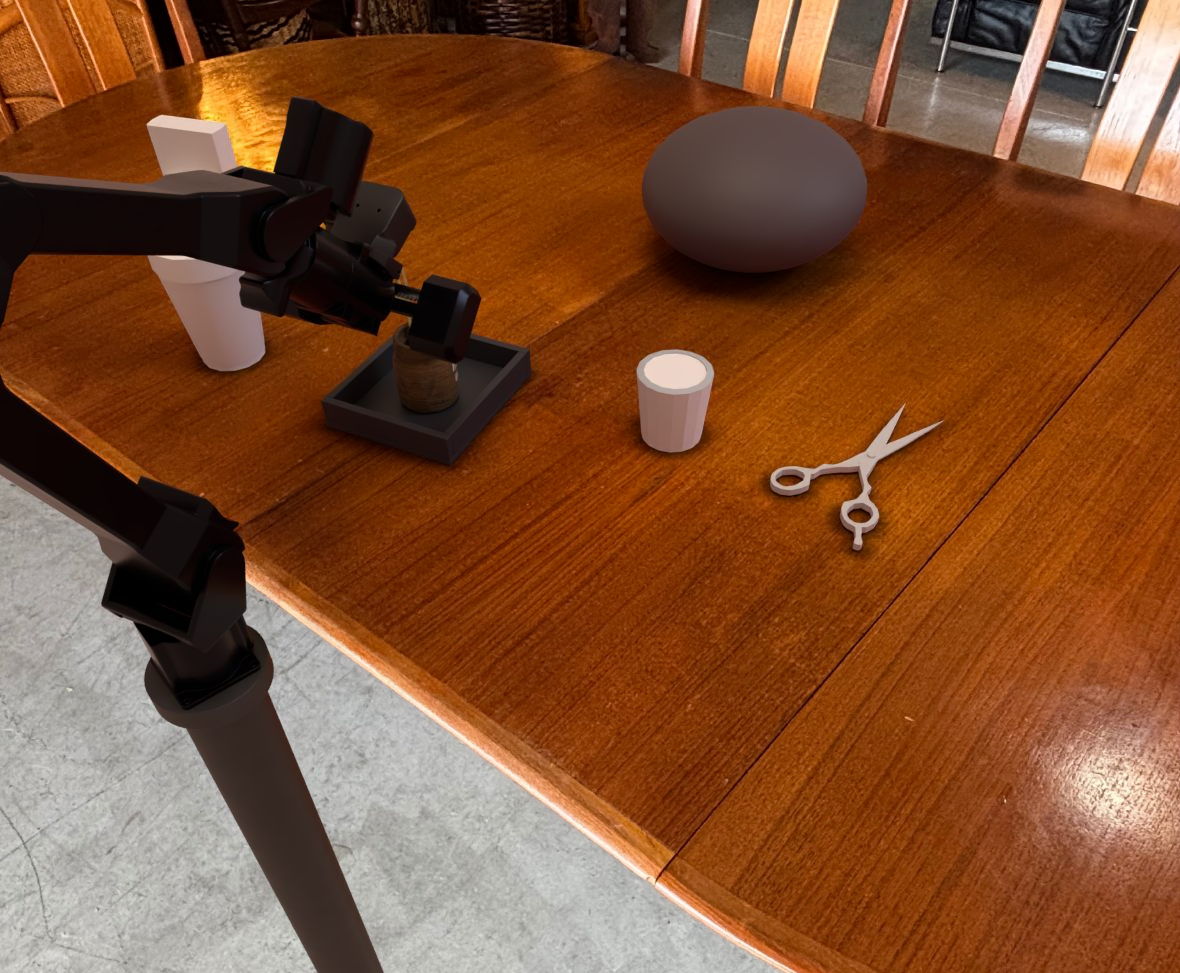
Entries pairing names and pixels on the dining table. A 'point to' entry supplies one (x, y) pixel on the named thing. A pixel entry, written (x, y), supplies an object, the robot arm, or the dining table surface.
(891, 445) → the scissors
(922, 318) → the dining table surface
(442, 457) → the baking tray
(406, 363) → the utensil holder
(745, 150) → the smooth stone
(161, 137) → the base with upright slab
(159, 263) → the foam cup
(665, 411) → the shot glass
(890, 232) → the dining table surface
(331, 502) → the dining table surface
